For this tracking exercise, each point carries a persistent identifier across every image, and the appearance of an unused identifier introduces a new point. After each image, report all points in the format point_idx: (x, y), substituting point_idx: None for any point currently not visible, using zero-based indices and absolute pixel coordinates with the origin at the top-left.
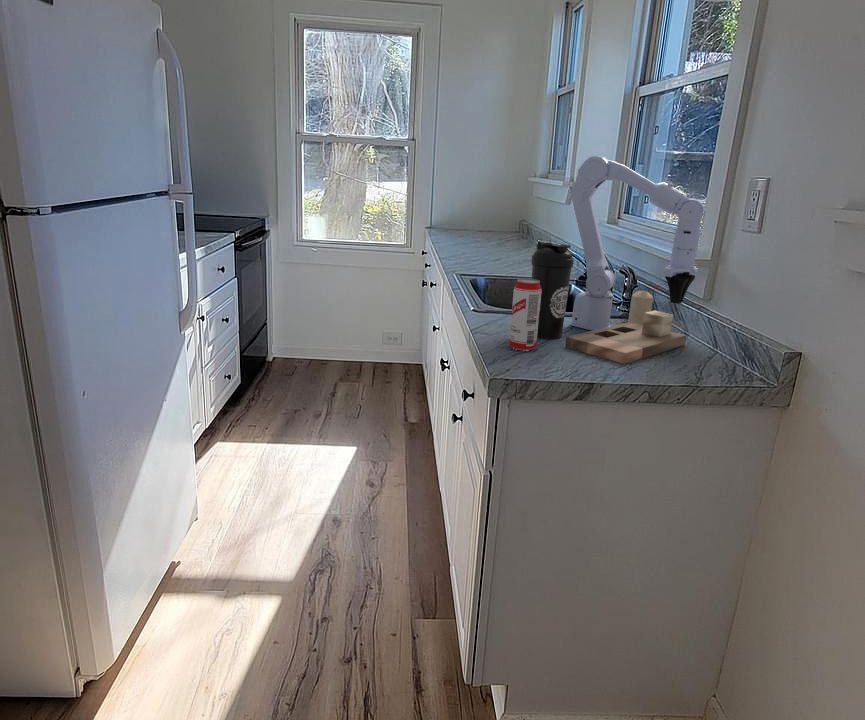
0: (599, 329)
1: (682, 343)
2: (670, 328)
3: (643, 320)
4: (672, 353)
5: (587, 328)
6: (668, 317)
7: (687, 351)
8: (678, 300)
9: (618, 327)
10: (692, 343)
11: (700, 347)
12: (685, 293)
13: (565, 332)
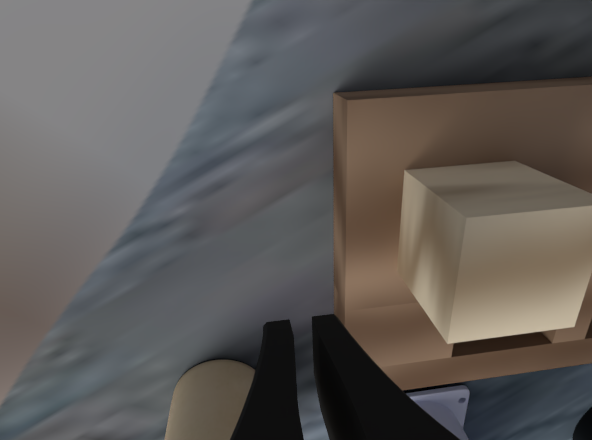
0: (584, 360)
1: (369, 91)
2: (426, 180)
3: (244, 396)
4: (553, 32)
5: (463, 425)
6: (528, 204)
7: (451, 4)
8: (346, 332)
9: (488, 354)
10: (255, 88)
11: (297, 6)
12: (256, 383)
13: (545, 422)
